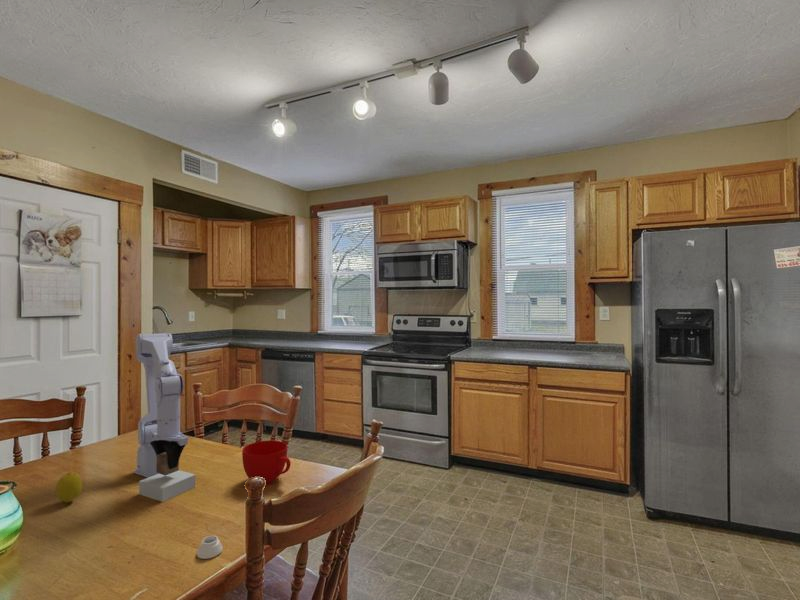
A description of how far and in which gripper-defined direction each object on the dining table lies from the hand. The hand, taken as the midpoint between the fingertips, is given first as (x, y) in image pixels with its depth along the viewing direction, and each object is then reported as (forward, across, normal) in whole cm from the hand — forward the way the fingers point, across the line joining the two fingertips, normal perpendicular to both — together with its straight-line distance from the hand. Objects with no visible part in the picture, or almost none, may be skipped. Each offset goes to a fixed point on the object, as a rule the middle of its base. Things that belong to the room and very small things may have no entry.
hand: (168, 466), depth 118 cm
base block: (+7, 0, 0) cm, 7 cm away
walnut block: (+2, 0, 0) cm, 2 cm away
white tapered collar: (+7, +36, -14) cm, 39 cm away
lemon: (+7, -16, -17) cm, 24 cm away
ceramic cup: (+7, +21, +18) cm, 29 cm away
